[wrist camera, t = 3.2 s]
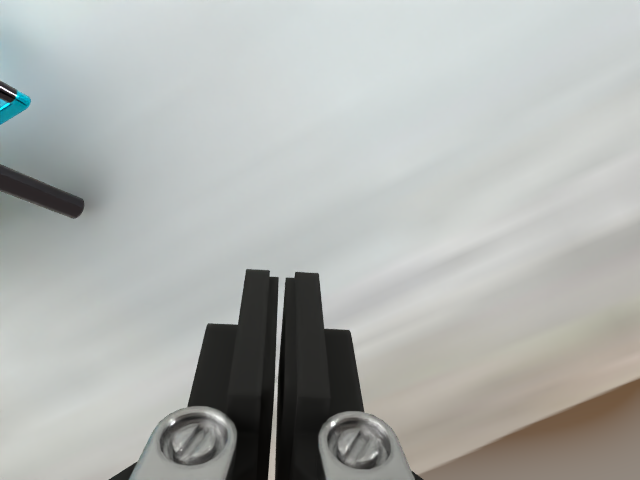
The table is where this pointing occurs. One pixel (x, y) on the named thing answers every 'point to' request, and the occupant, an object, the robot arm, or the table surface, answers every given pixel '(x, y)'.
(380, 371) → the table surface
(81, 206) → the stick construction toy
